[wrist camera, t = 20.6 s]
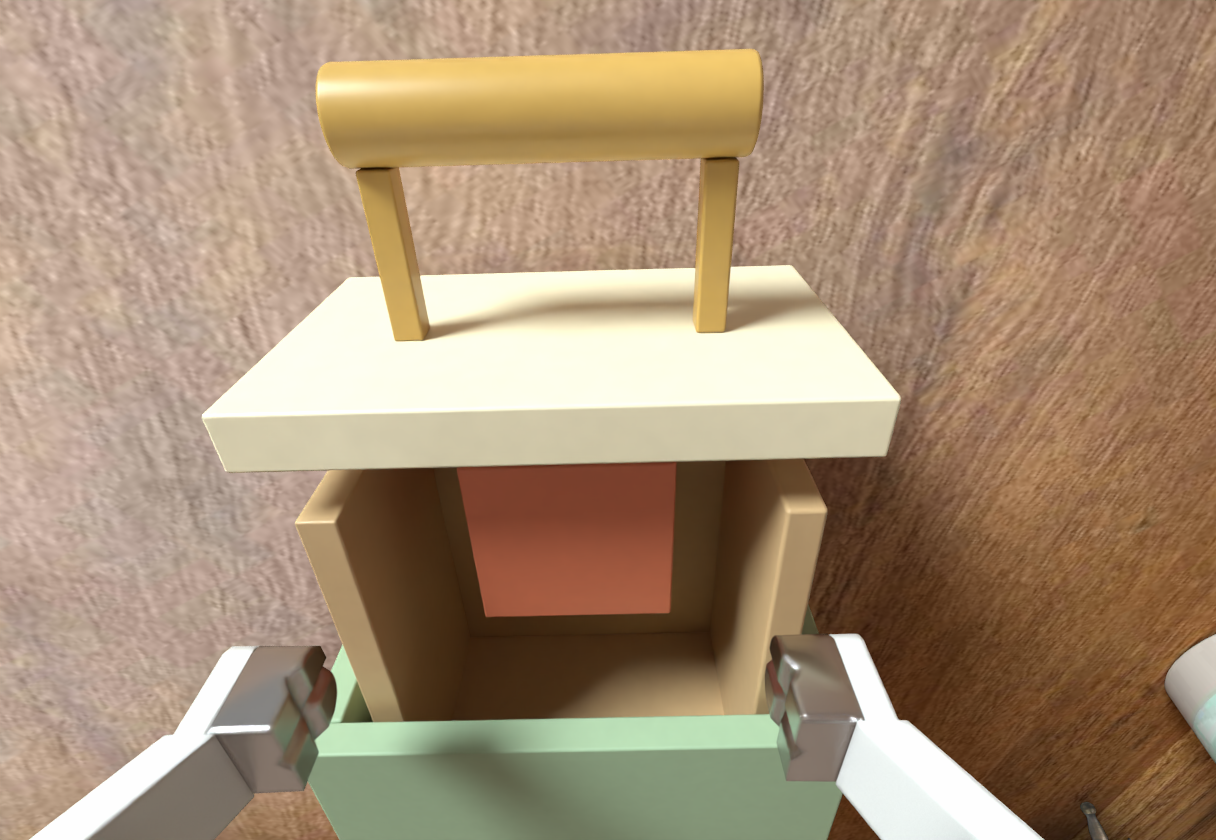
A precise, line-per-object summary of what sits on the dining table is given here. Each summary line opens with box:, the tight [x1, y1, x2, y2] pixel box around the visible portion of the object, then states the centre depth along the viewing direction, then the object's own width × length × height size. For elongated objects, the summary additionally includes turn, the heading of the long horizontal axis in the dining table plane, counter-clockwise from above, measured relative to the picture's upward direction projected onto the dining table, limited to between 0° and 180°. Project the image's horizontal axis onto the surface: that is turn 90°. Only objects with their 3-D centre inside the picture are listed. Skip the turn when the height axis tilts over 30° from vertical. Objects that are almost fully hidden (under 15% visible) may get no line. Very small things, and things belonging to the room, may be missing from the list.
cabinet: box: [308, 605, 843, 840], centre depth 21 cm, size 15×13×9 cm
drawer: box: [202, 49, 901, 722], centre depth 15 cm, size 18×11×7 cm, turn 2°
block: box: [457, 462, 677, 617], centre depth 15 cm, size 4×4×4 cm
